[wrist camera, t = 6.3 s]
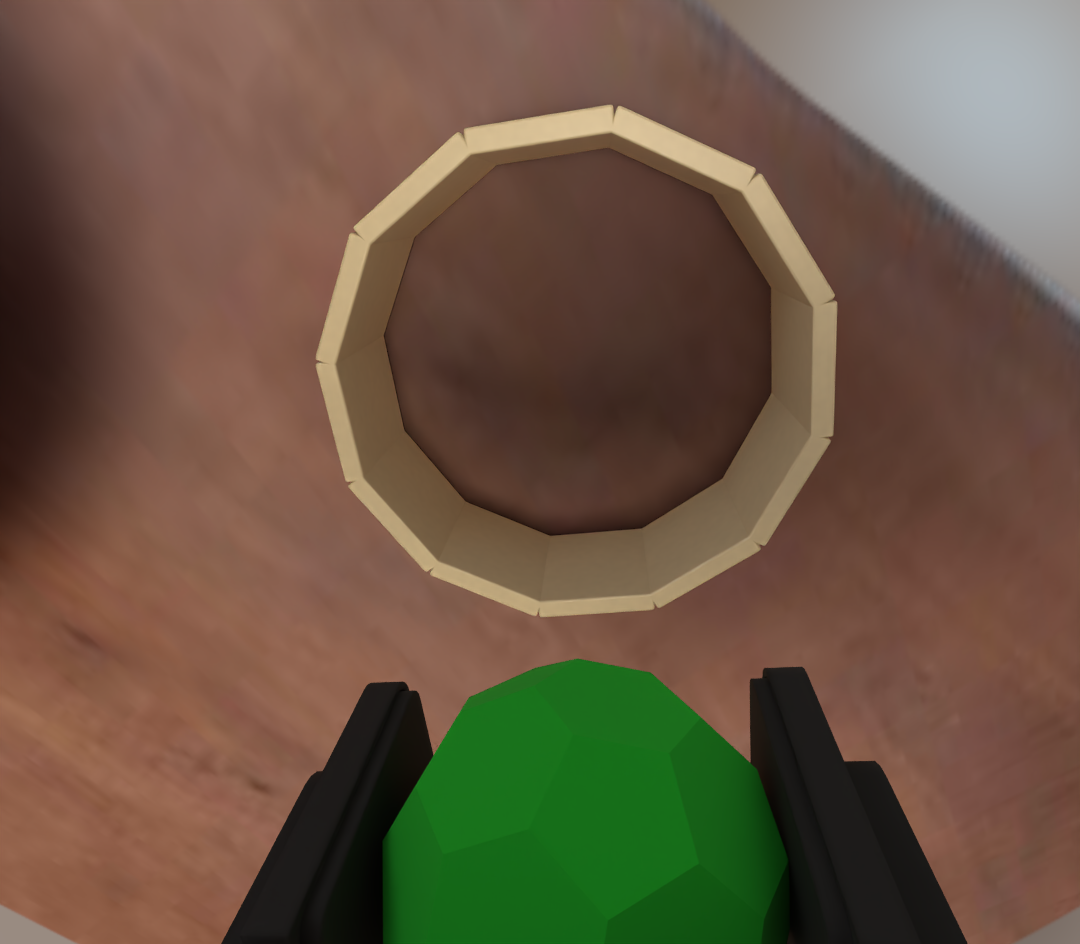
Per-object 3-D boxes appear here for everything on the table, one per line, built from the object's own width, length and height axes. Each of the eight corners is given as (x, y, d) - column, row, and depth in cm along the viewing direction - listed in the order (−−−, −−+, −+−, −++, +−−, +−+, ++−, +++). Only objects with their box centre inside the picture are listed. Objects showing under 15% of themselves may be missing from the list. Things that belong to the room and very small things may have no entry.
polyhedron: (521, 867, 12) (471, 1252, 8) (380, 662, 11) (216, 986, 6) (791, 793, 11) (918, 1199, 6) (672, 549, 9) (729, 854, 5)
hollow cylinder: (791, 96, 19) (845, 66, 15) (789, 530, 24) (829, 599, 20) (329, 169, 21) (261, 160, 16) (417, 559, 26) (382, 628, 22)
